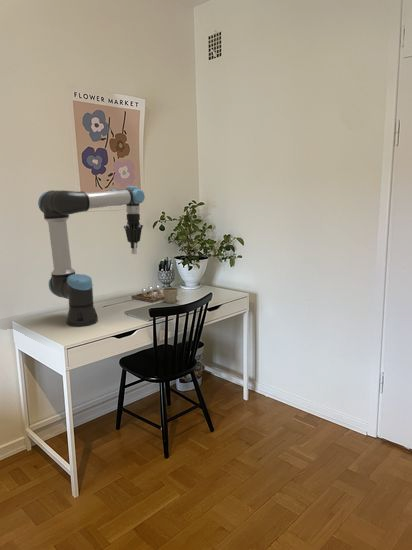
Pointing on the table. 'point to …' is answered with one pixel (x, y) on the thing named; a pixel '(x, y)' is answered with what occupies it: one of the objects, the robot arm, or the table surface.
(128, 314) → the table surface
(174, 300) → the flower pot
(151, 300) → the tray
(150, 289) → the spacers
